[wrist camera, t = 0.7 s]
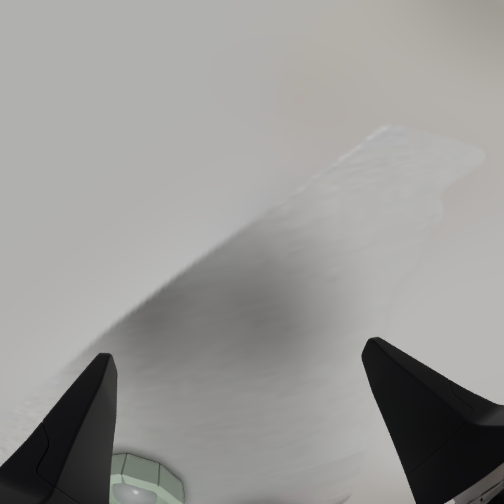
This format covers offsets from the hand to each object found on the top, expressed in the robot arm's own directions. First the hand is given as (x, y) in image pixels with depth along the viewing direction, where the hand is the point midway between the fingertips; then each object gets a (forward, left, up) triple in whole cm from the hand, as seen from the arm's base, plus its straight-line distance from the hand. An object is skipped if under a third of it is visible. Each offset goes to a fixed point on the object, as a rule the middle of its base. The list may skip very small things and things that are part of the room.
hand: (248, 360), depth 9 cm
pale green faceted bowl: (-16, +13, -15) cm, 25 cm away
